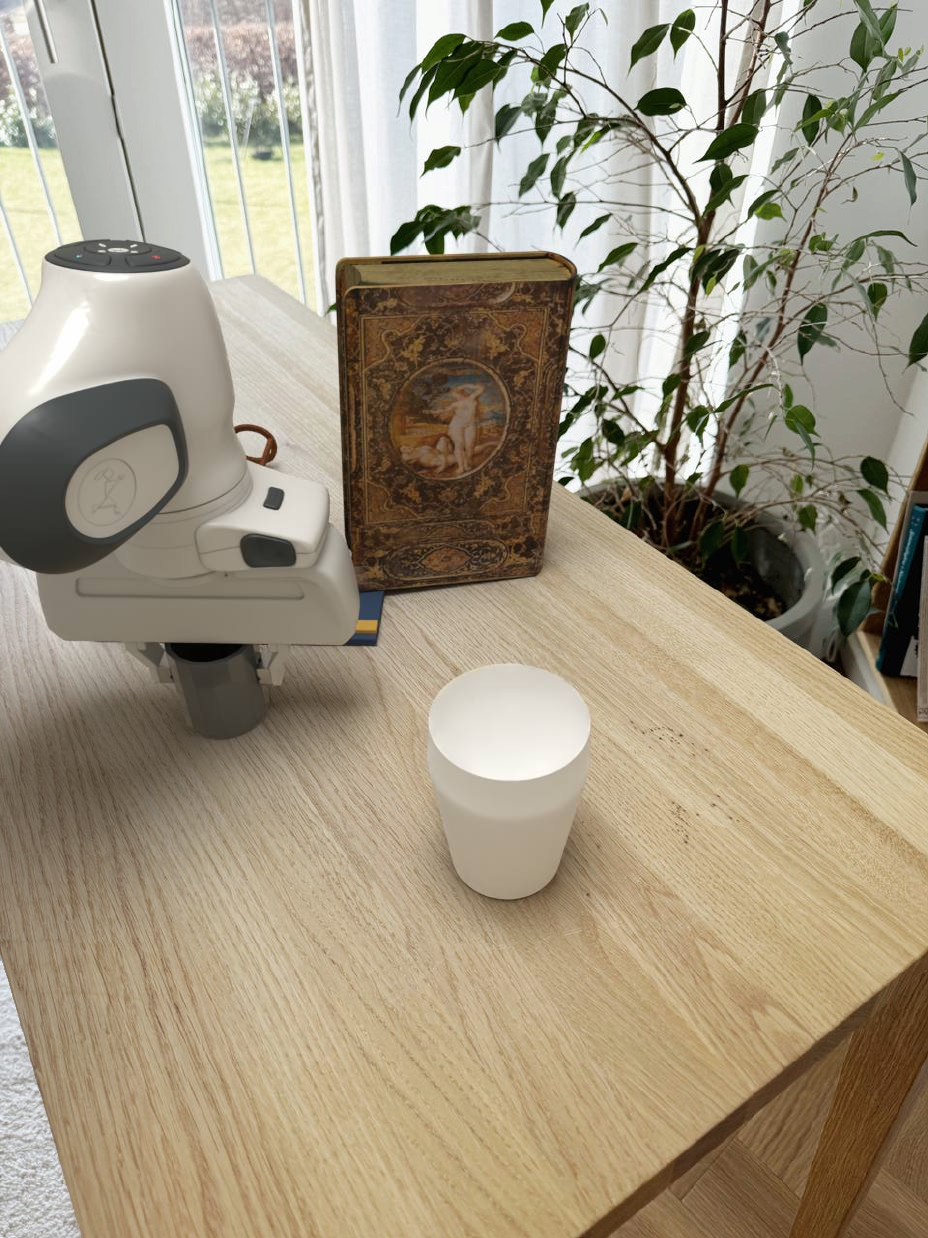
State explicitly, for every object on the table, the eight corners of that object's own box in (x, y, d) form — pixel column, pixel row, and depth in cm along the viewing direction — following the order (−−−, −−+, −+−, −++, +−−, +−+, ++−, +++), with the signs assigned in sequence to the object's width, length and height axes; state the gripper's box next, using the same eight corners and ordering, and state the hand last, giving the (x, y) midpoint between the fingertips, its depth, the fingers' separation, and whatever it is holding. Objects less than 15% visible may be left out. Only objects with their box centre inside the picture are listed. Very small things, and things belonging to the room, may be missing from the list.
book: (532, 536, 85) (563, 249, 69) (549, 574, 81) (586, 279, 65) (345, 553, 82) (332, 257, 66) (353, 593, 78) (341, 288, 62)
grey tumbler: (175, 738, 67) (153, 665, 63) (196, 679, 72) (177, 606, 67) (260, 740, 67) (244, 666, 63) (276, 680, 72) (262, 607, 67)
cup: (469, 942, 55) (467, 807, 47) (410, 825, 61) (400, 689, 54) (606, 885, 58) (626, 749, 50) (537, 779, 64) (544, 643, 56)
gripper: (-9, 541, 57) (58, 708, 66) (339, 545, 56) (359, 713, 65) (32, 483, 62) (89, 646, 70) (352, 486, 61) (369, 650, 70)
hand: (221, 678), depth 68 cm, fingers closed on grey tumbler, 6 cm apart
